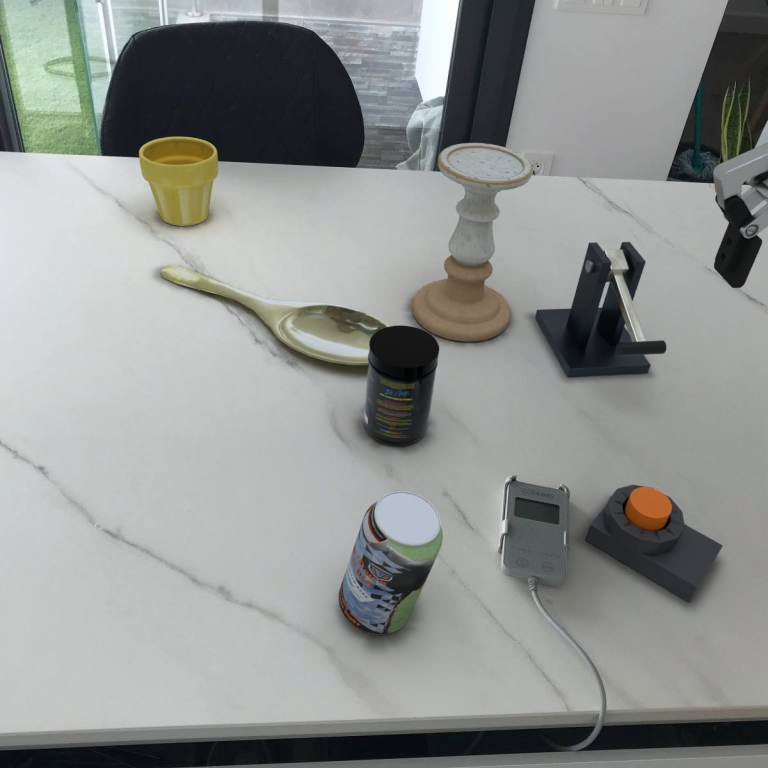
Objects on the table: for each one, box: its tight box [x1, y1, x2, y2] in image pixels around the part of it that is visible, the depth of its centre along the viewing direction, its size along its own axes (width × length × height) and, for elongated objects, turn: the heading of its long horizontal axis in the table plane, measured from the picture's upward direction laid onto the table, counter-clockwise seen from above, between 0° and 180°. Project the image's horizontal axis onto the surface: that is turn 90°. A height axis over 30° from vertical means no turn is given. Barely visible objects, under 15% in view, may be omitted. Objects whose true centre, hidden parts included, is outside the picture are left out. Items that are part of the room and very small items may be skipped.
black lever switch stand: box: [534, 241, 651, 378], centre depth 90 cm, size 12×10×13 cm
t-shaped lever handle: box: [603, 248, 667, 356], centre depth 85 cm, size 13×5×2 cm, turn 10°
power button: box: [625, 486, 672, 531], centre depth 68 cm, size 4×4×2 cm
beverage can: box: [338, 490, 444, 636], centre depth 59 cm, size 6×7×12 cm
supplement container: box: [363, 324, 440, 447], centre depth 77 cm, size 7×7×10 cm
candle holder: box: [411, 142, 534, 343], centre depth 91 cm, size 12×12×20 cm
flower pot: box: [138, 136, 219, 227], centre depth 108 cm, size 10×10×10 cm
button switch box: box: [584, 484, 723, 603], centre depth 69 cm, size 10×6×4 cm, turn 51°
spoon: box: [160, 264, 391, 366], centre depth 93 cm, size 35×11×2 cm, turn 59°
